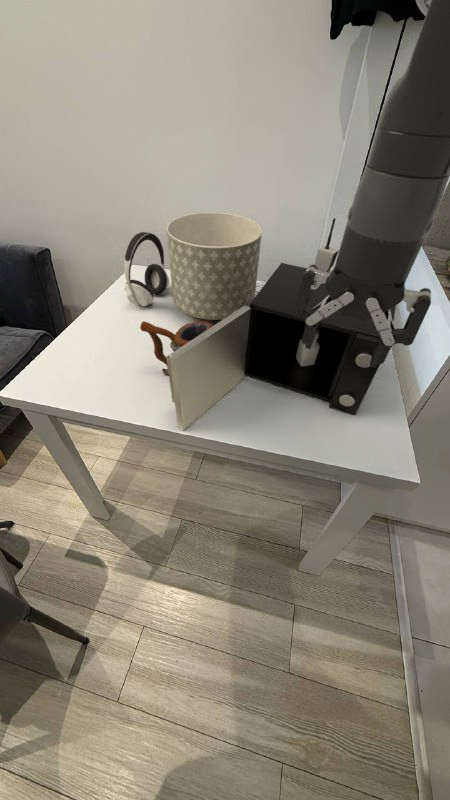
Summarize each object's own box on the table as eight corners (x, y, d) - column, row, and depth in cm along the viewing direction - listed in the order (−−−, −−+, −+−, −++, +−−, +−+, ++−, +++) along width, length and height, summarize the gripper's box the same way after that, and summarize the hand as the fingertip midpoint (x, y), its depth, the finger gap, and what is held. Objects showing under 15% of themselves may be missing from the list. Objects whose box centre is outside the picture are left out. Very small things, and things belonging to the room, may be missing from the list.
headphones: (145, 316, 99) (133, 249, 84) (122, 310, 101) (106, 243, 87) (175, 288, 111) (170, 225, 97) (154, 283, 113) (146, 220, 99)
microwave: (354, 418, 73) (389, 346, 59) (239, 381, 81) (245, 309, 66) (368, 356, 89) (398, 287, 74) (270, 330, 96) (281, 262, 82)
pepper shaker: (300, 367, 83) (308, 336, 76) (294, 357, 86) (302, 327, 79) (315, 365, 84) (324, 335, 77) (308, 356, 87) (317, 325, 80)
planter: (227, 341, 92) (230, 256, 74) (157, 314, 100) (146, 231, 83) (266, 303, 106) (277, 224, 89) (203, 282, 115) (202, 206, 98)
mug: (140, 386, 78) (129, 334, 67) (157, 356, 86) (149, 306, 75) (213, 399, 76) (214, 347, 65) (224, 367, 84) (225, 316, 73)
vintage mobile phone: (319, 305, 107) (342, 222, 88) (306, 300, 109) (325, 218, 90) (324, 300, 109) (347, 219, 91) (311, 295, 111) (331, 214, 93)
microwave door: (165, 418, 71) (153, 345, 57) (226, 369, 83) (230, 298, 69) (182, 431, 69) (175, 358, 55) (243, 378, 81) (250, 308, 67)
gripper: (464, 224, 33) (397, 353, 44) (323, 202, 36) (296, 326, 48) (470, 252, 28) (393, 388, 40) (306, 223, 31) (280, 355, 43)
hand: (339, 354), depth 44 cm, fingers open, 8 cm apart
